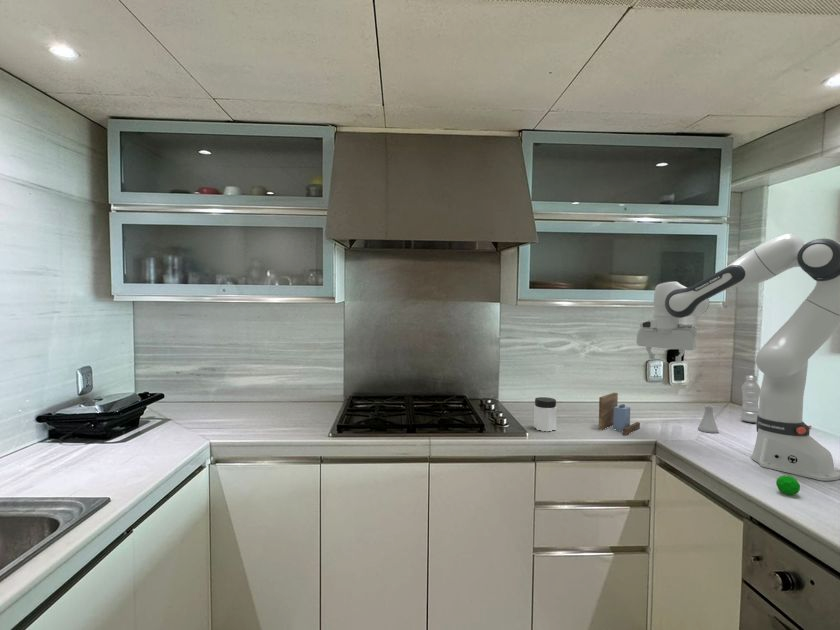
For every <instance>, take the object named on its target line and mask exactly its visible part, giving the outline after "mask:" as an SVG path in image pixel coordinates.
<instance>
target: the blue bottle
mask: <svg viewBox="0 0 840 630" xmlns="http://www.w3.org/2000/svg"><path fill="white" fill-rule="evenodd" d="M629 425H631V407H630V406H626V404H625V403H624V404H623V403H622V404H619V405H617V406H616V407H614V421H613V426H612V427H613V429H616V430H615V431H617V430H620V431H619V432H622V431H623V428H625V427H627V426H629Z"/></svg>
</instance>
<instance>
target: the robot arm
mask: <svg viewBox="0 0 840 630" xmlns="http://www.w3.org/2000/svg"><path fill="white" fill-rule="evenodd" d="M797 267H800V268H801V270H802V271H803V272H804V273H806V274H807V275H808V276H810V278H812V280H814V281H816V283H815V286H814V288H813V290H812V291H811V293H809V295H807V296H806V298H805V299H804V301H802V303H801V304H800V305H799V306H798V307H797V309H796V310H795V311H794V313H792V315H791V316H790V318H789V319H788V320H786V322H785V323H784V324H783V325H782V326H781V327H779V329H778V330H777V331H776V332H775V333H774V334H773V335H772V336H771V337H770V338H769V339H768V341H767V342H765V344H764V345H763V346H762V347H761V348H760V349H759V350H758V352H757V354H756V356H755V357H756V358H755V364H756V366H757V368H758V369H759V371H760V372H761V373H763V375H762V382H761V386H760V395H759V401H758V407H759V415H758V416H757V422H756V424H755V427H756V440H755V443H754V448H753V450H752V453H751V456H750V458H751V459H752V460H753V461H755V462H756V463H758V465H759V466H761V467H763V468H765V469H772V470H775V471H780V472H782V473H783V472H784V473H788V474H792V475H795V476H800V477H804V478H805V477H806V478H810V479H813V480H818V481H822V482H823V481H824V482H828V481H829V482H830V481H836V480H840V468H837V467H835V463H834V459H833V455H832V452H831V451H830V450H829V449H827V448H826V447H825V446H823V445H822V444H821V443H819V442H818V441H817V440H816V439H815V438H813V437H812V436H811V435H810V430H812V427H813V426H812V425H810V424H809V425H807V424H806V423H805V422H804V421H803V414H804V413H803V412H804V409H803V408H804V396H805V388H806V383H807V374H808V367H809V366H808V365H809V359H810V358H811V357H813V355H814V354H815V353H816V352H817V351H818V350H819V349H820V348H821V347H822V346H823V345H824V344H825V343H826V342H827V341H828V340H829V339H830V338H831V337H832V335H834V333H835V332H836V331H837V330H838V329H839V327H840V242H838V241H836V240H834V239H831V238H817V239H812V240H810V241H808V242H805V241H804V240H803V238H801V237H800V236H798V235H795V234H794V233H783V234H781V235H779V236H776V237H774V238H772V239H769V240H767V241H765V242H763V243H761V244H759V245H758V246H756V247H754V248H752V249H751V250H749V251H747V252H746V253H744V254H742V256H740V257H739V258H737V259H735V260H734V261H733V262H731V263H729V264H728V265H727V266H725V267H723V268H722V269H720V270H719V271H717V272H716V273H713V274H712V275H710V276H708V277H706V278H704V279H702V280H701V281H698V282H697V283H694V284H693V285H690V286H688V287H686V286H685V285H683V284H681V283H680V282H678V281H675V280H673V281H672V280H671V281H665V282H664V281H663V282H660V283H658V284H657V285H656V286H655V288H654V294H653V307H654V311H653V315H652V316H653V318H652V319H649V320H644V321H641V322H640V323H639V327H640V328H639V329H638V331H637V334H636V335H637V336H636V345H637V346H638V347H645V348H646V349H645V350H646V352H647V353H648V359H650V360H654V359H655V356H656V355H655V353H653V352H652V349H653V348H658V349H670V350H671V349H673V350H678V353H679V354H678V355H677V356H676V355H675V360H674V361H675V362H682V357H683V355H684V354H685V353H686V351H693V350H695V349H696V348H697V343H696V341H697V339H696V335H697V328H696V327H695V326H693V325H691V324H680V319H681V318H685V317H697V316H700V315H703V314H705V313H706V312H707V310H708V309H709V306H710V299H711V298H713V297H714V296H716V295H718V294H721V293H722V292H724V291H726V290H729V289H734V288H738V287H747V286H754V285H758V284H761V283H763V282H766V281H768V280H771V279H773V278H774V277H776V276H778V275H780V274H781V273H784V272H785V271H787V270H790V269H793V268H797Z"/></svg>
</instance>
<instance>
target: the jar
mask: <svg viewBox="0 0 840 630" xmlns="http://www.w3.org/2000/svg"><path fill="white" fill-rule="evenodd" d="M557 410H558V407H557V400H556V399H555V398H553V397H548V396H547V397H545V396H544V397H543V396H540V397H535V398H534V405H533V428H534V427H535V428H536V429H537V430H544V431H551V432H553V431H552V430H556V431H557V415H558V414H557V412H558V411H557ZM535 428H534V429H535ZM536 429H535V430H536ZM537 430H536V431H537ZM544 431H543V432H544Z"/></svg>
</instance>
